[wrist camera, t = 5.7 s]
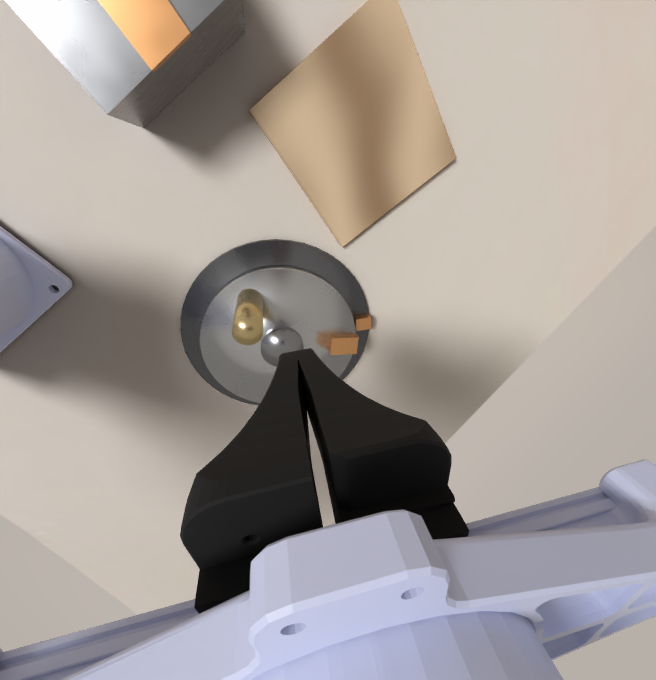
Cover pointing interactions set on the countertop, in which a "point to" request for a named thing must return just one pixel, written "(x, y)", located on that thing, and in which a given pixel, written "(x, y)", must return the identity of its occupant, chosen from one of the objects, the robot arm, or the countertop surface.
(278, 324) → the brass knob plate
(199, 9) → the link block
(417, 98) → the seat pad
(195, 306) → the metal parts dish
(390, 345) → the countertop surface
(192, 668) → the robot arm
